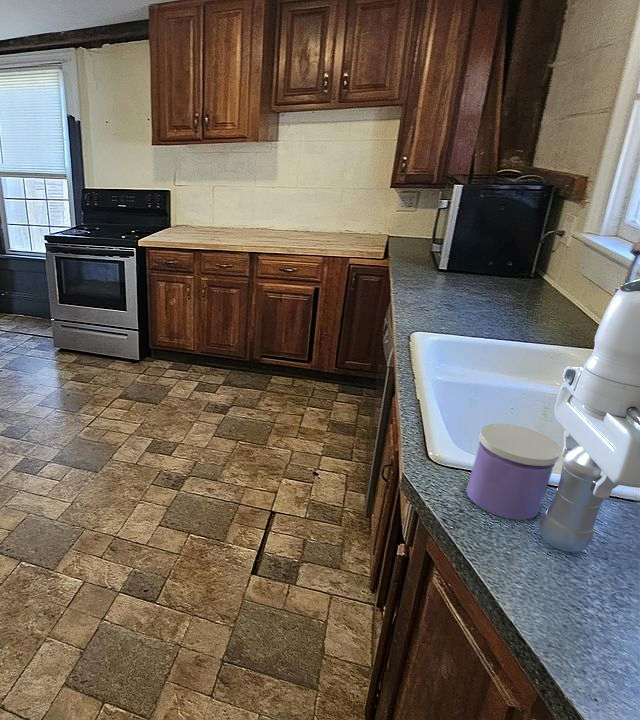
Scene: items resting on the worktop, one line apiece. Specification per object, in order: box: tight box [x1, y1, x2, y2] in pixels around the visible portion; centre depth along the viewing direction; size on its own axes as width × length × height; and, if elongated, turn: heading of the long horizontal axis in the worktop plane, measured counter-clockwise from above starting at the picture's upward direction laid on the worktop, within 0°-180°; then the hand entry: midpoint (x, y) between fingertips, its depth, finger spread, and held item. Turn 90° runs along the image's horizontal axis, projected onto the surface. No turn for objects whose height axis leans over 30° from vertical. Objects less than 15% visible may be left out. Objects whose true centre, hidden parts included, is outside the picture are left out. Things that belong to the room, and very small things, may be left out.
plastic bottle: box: [538, 445, 605, 553], centre depth 80 cm, size 6×7×20 cm
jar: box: [465, 423, 562, 521], centre depth 92 cm, size 12×12×12 cm
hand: (582, 475), depth 79 cm, fingers open, 8 cm apart
